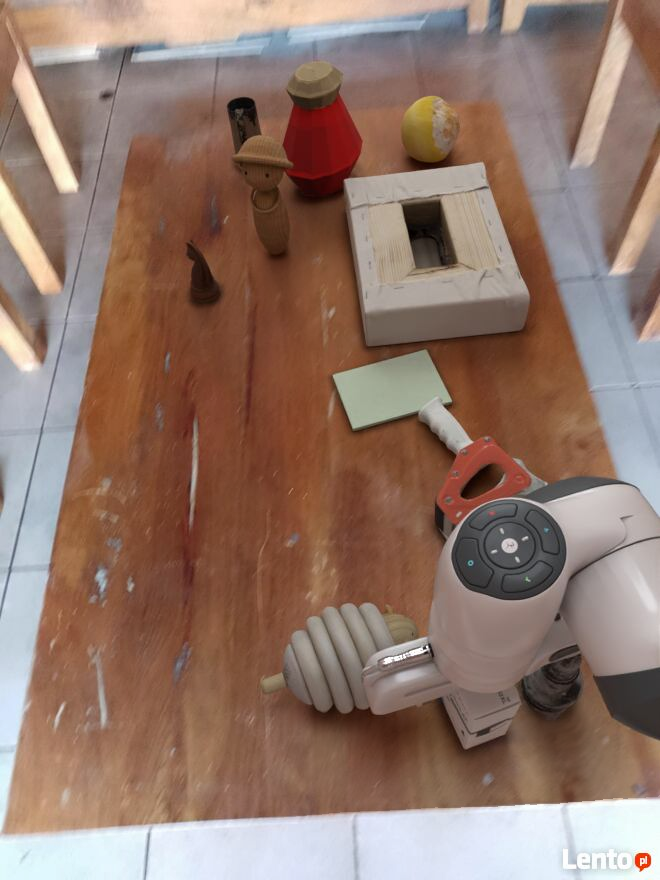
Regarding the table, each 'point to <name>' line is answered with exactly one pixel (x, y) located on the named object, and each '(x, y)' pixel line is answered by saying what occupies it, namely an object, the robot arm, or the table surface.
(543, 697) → the dark grey tiered post
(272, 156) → the figurine
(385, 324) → the box
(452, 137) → the fruit
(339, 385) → the mat
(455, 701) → the ink box
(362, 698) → the toy sheep
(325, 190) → the bottle
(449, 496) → the tape dispenser
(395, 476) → the table surface
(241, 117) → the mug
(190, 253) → the chess piece
